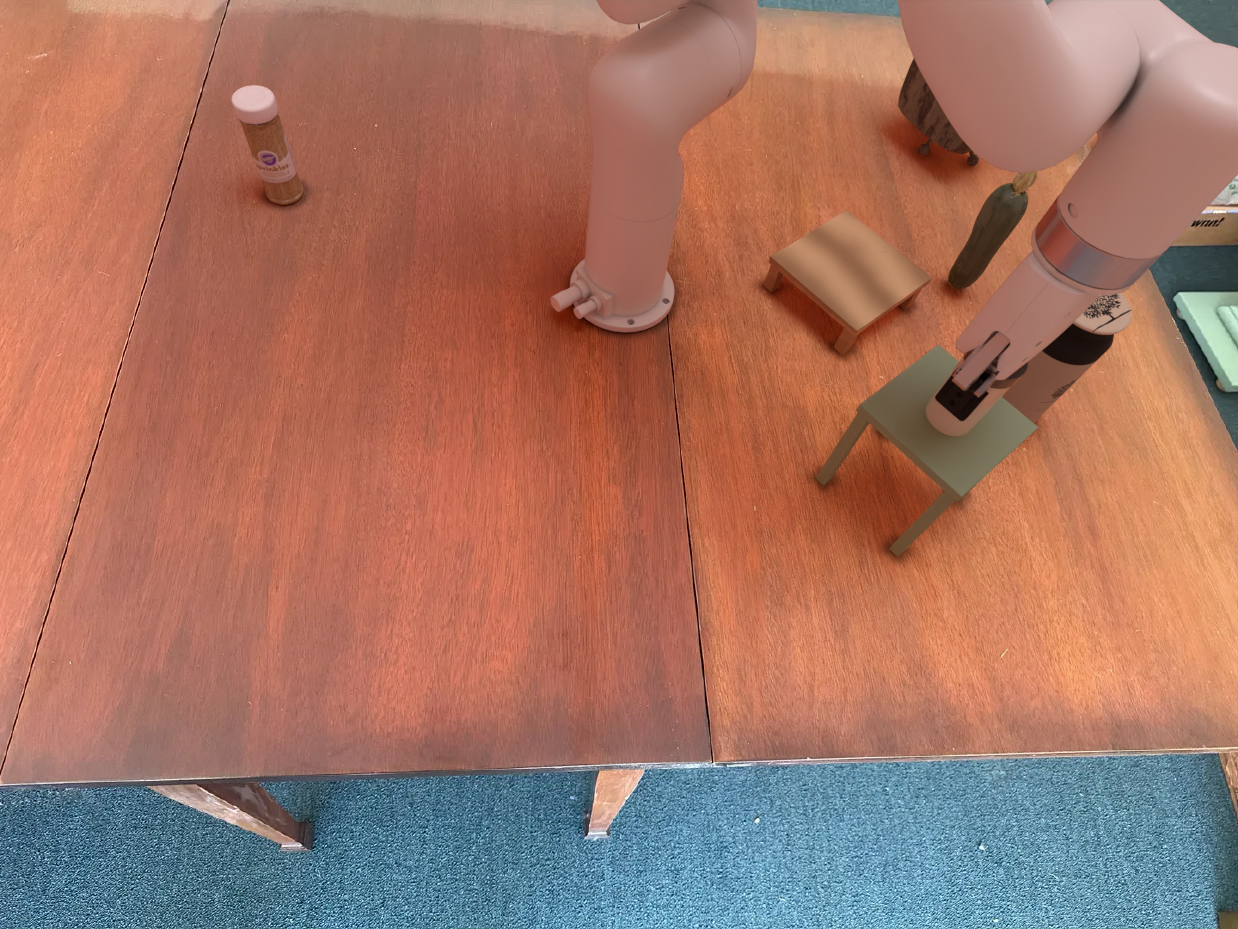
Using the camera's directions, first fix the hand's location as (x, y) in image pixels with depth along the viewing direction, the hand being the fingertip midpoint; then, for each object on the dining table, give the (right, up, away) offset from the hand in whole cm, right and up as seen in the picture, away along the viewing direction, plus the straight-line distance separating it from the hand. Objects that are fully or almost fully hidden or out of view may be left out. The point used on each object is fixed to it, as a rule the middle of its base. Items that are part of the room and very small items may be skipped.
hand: (969, 392), depth 68 cm
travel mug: (+13, 0, +22) cm, 26 cm away
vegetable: (+12, +16, +31) cm, 37 cm away
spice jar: (0, -2, +3) cm, 4 cm away
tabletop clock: (+15, +40, +45) cm, 62 cm away
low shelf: (-4, +15, +29) cm, 32 cm away
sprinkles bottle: (-73, +27, +29) cm, 83 cm away
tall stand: (-2, -9, +15) cm, 18 cm away
